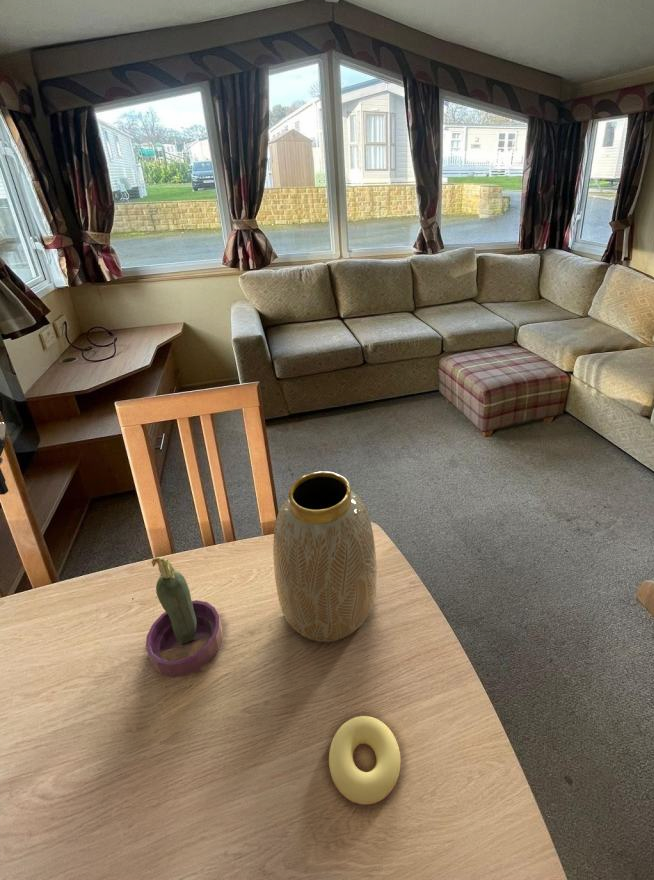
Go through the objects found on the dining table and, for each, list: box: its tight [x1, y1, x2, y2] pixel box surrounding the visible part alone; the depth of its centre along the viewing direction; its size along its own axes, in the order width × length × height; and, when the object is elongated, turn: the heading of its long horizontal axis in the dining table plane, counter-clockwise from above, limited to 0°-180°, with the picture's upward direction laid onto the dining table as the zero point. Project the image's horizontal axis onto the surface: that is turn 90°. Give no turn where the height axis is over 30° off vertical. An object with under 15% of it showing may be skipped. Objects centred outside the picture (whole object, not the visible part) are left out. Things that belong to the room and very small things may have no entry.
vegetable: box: [150, 556, 197, 646], centre depth 76 cm, size 4×4×20 cm
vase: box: [272, 471, 378, 643], centre depth 81 cm, size 17×17×27 cm
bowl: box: [145, 599, 224, 678], centre depth 80 cm, size 11×11×4 cm
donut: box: [328, 715, 401, 806], centre depth 65 cm, size 10×5×9 cm
